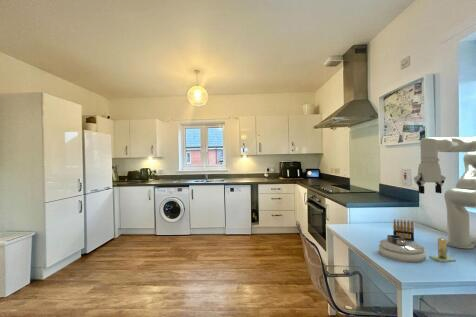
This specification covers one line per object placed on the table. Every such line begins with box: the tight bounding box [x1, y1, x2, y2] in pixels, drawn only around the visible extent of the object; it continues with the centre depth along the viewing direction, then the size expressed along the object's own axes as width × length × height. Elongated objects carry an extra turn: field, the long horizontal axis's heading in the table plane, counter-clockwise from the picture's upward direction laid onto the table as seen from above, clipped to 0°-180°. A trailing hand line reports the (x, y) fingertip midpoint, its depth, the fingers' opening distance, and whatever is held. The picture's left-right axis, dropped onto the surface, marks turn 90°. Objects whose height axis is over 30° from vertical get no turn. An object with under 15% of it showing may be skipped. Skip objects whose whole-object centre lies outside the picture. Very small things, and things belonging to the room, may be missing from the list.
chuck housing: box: [378, 243, 427, 264], centre depth 132 cm, size 20×20×3 cm
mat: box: [429, 255, 457, 263], centre depth 126 cm, size 8×6×1 cm
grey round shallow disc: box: [379, 234, 425, 254], centre depth 132 cm, size 19×19×4 cm
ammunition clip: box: [392, 218, 415, 242], centre depth 158 cm, size 11×2×12 cm, turn 58°
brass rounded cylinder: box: [437, 237, 448, 259], centre depth 125 cm, size 3×3×9 cm
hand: (430, 193), depth 138 cm, fingers open, 9 cm apart
